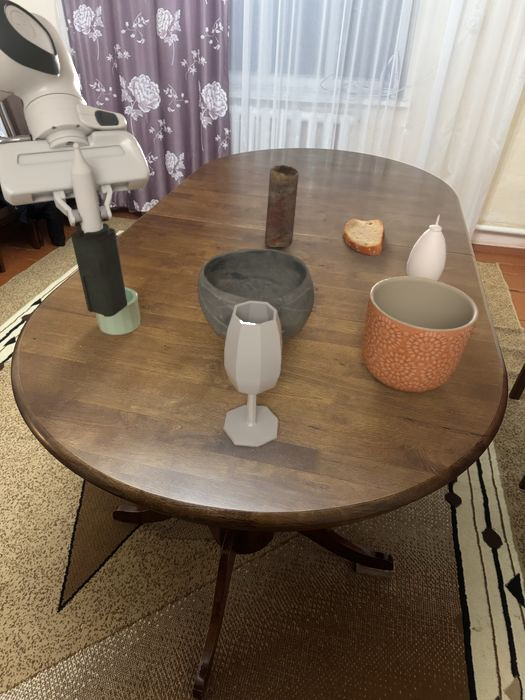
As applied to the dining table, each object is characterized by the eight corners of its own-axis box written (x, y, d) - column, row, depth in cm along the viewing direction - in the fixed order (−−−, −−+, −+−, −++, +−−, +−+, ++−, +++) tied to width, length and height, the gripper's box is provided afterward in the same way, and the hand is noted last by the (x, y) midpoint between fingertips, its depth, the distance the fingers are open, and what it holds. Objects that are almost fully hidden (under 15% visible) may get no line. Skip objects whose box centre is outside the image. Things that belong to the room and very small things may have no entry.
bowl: (180, 329, 92) (174, 260, 83) (264, 299, 103) (267, 235, 94) (241, 387, 79) (242, 312, 70) (330, 345, 90) (341, 276, 81)
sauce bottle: (443, 292, 108) (466, 217, 98) (419, 300, 105) (440, 223, 94) (418, 278, 114) (437, 205, 103) (395, 285, 110) (412, 211, 100)
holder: (98, 337, 89) (93, 310, 86) (98, 314, 95) (92, 289, 92) (142, 331, 91) (138, 305, 88) (139, 310, 97) (135, 284, 94)
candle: (130, 303, 77) (104, 141, 61) (110, 318, 73) (77, 150, 58) (105, 295, 78) (74, 136, 63) (84, 310, 74) (45, 144, 59)
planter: (373, 335, 93) (388, 267, 84) (460, 364, 87) (487, 293, 78) (340, 382, 81) (354, 308, 72) (438, 420, 75) (467, 344, 66)
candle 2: (291, 240, 129) (297, 165, 117) (293, 251, 123) (300, 174, 111) (264, 239, 129) (267, 164, 117) (265, 250, 123) (268, 172, 111)
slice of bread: (370, 258, 122) (373, 245, 119) (322, 235, 133) (323, 222, 130) (412, 242, 131) (415, 229, 129) (363, 222, 142) (365, 210, 140)
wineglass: (218, 411, 74) (215, 298, 62) (271, 404, 76) (278, 292, 64) (228, 453, 68) (227, 335, 55) (286, 443, 70) (297, 327, 57)
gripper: (-22, 124, 60) (9, 224, 59) (134, 114, 68) (163, 201, 67) (-13, 152, 66) (15, 243, 65) (130, 139, 74) (156, 220, 73)
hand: (92, 222), depth 66 cm, fingers closed on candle, 3 cm apart
